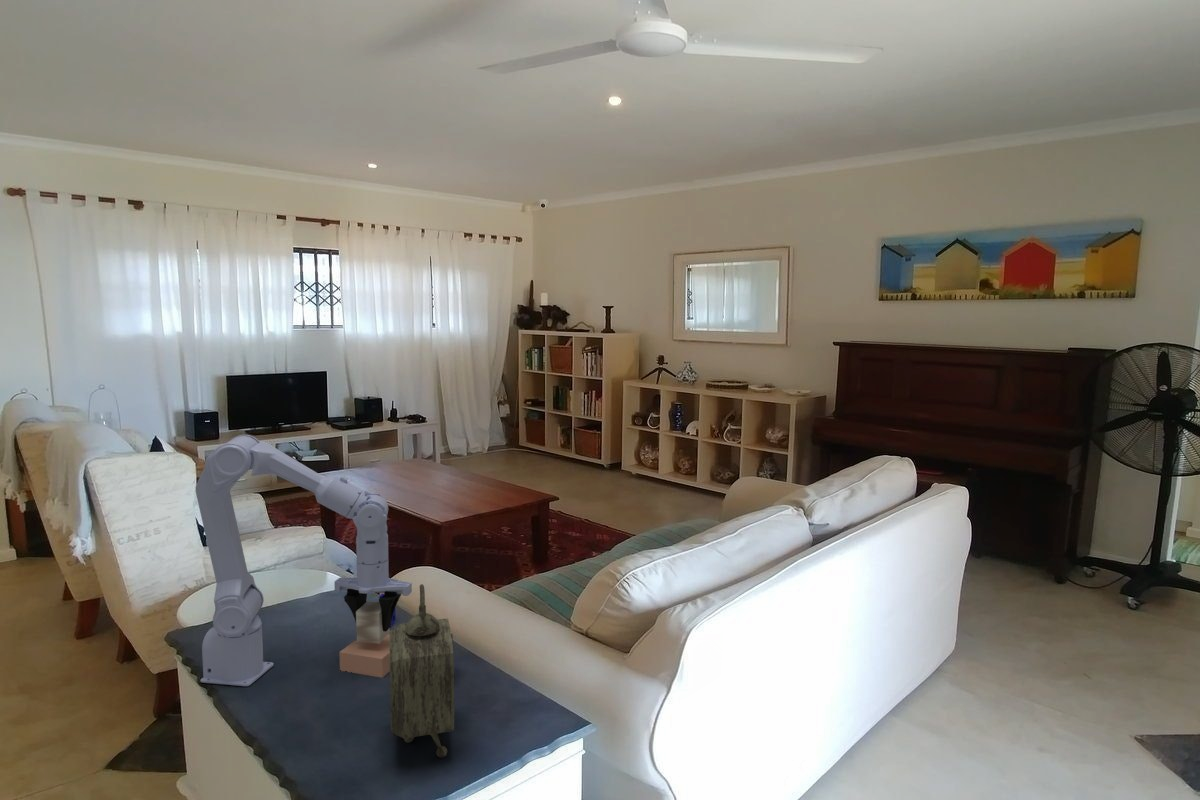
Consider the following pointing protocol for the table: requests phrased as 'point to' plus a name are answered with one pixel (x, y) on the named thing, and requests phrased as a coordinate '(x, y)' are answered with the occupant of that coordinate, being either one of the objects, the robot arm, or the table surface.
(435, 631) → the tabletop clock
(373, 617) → the ivory block
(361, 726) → the table surface
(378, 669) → the terracotta block
